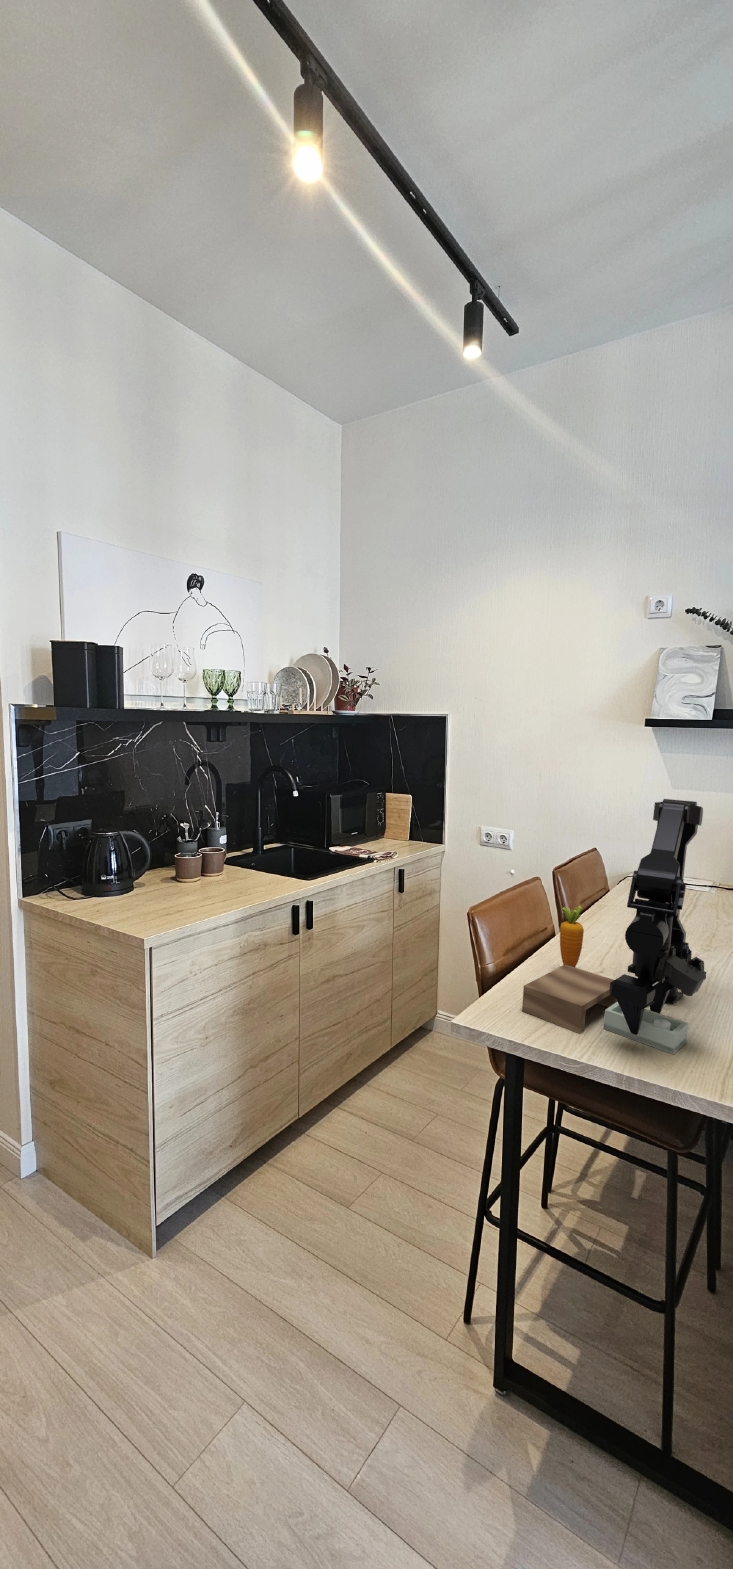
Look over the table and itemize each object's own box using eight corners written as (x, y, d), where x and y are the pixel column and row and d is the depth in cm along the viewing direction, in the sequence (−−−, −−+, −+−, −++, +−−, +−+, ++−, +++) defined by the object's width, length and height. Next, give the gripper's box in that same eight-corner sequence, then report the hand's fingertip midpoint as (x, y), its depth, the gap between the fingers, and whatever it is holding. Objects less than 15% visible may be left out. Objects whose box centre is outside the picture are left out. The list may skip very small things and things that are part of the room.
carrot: (553, 974, 142) (558, 906, 140) (560, 967, 146) (565, 901, 144) (576, 980, 139) (582, 910, 137) (583, 973, 143) (588, 905, 141)
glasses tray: (617, 1018, 122) (619, 1000, 121) (686, 1042, 113) (688, 1023, 113) (603, 1028, 117) (605, 1009, 117) (673, 1054, 109) (675, 1034, 109)
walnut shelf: (563, 988, 134) (565, 964, 134) (618, 1006, 127) (620, 981, 126) (522, 1011, 123) (523, 985, 123) (579, 1033, 115) (581, 1006, 115)
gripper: (682, 965, 101) (673, 1062, 103) (720, 939, 115) (712, 1025, 116) (611, 946, 109) (604, 1036, 111) (655, 923, 122) (648, 1004, 124)
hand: (645, 1025), depth 115 cm, fingers open, 9 cm apart
